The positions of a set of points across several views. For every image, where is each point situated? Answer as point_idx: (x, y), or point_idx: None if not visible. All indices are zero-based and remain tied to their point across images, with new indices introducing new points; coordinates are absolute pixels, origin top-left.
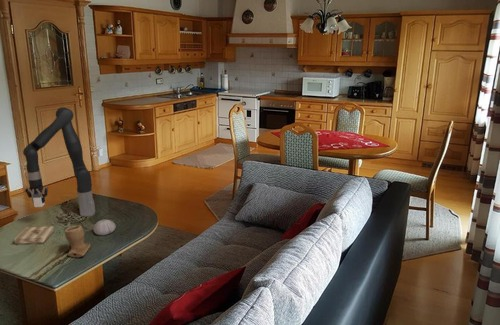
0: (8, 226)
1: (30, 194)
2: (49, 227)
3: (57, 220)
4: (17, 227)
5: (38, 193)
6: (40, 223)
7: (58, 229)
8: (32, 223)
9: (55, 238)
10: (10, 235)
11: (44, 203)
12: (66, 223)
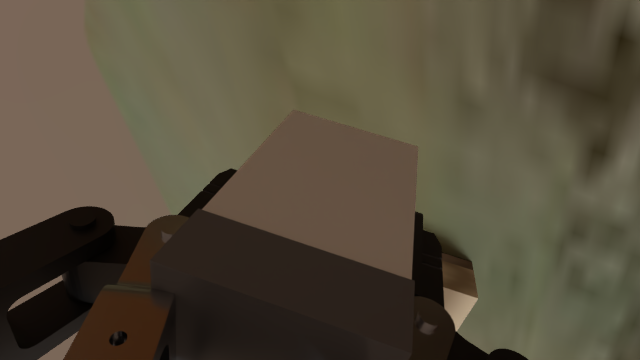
0: (98, 18)
1: (53, 262)
2: (449, 304)
3: (524, 10)
4: (179, 68)
5: (271, 350)
6: (350, 40)
7: (509, 231)
8: (276, 13)
9: (477, 343)
10: (191, 196)
11: (416, 155)
12: (605, 132)
